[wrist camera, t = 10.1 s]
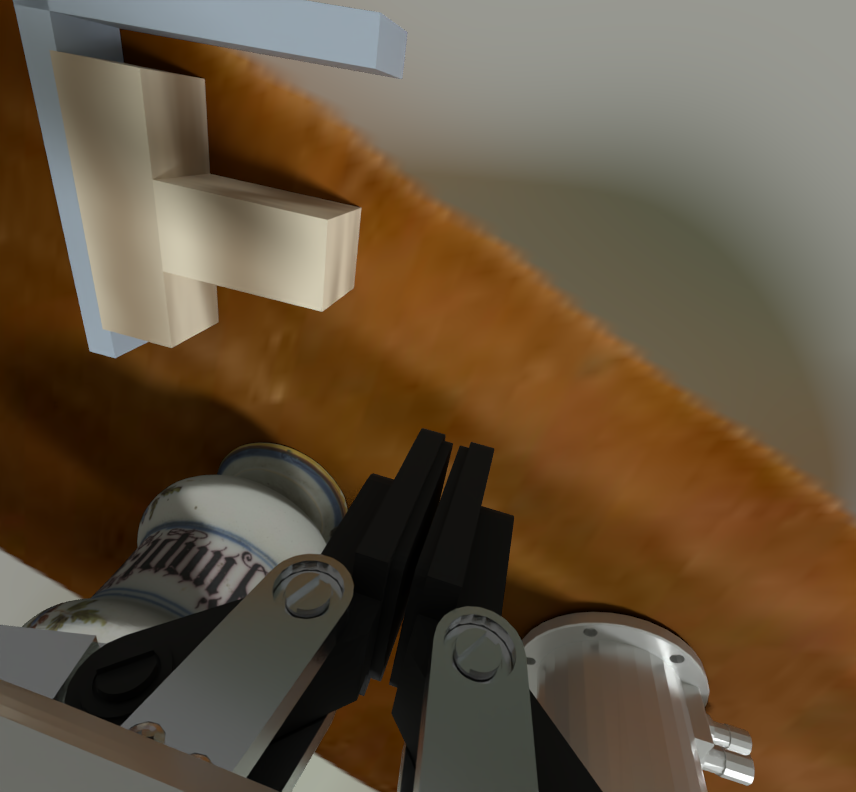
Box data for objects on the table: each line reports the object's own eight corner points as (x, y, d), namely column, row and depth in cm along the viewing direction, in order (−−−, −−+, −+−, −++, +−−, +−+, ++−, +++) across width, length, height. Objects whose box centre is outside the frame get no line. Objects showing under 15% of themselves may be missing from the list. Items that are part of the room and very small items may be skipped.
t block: (370, 112, 21) (334, 107, 17) (347, 355, 27) (317, 387, 24) (126, 63, 22) (49, 49, 19) (157, 305, 28) (102, 329, 25)
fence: (407, 32, 19) (380, 12, 16) (367, 389, 28) (344, 420, 25) (80, -23, 21) (2, -50, 18) (137, 329, 29) (89, 351, 26)
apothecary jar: (352, 583, 36) (202, 916, 21) (207, 532, 37) (-38, 812, 22) (377, 460, 30) (190, 803, 15) (202, 404, 31) (-143, 666, 16)
